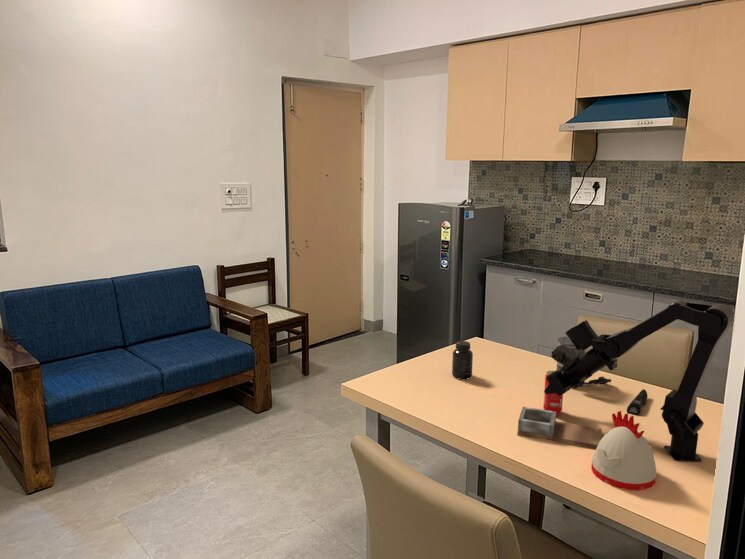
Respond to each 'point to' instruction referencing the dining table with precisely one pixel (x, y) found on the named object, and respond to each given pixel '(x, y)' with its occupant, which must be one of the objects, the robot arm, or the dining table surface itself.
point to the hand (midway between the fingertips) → (549, 389)
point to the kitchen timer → (624, 457)
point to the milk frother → (570, 345)
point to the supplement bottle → (462, 360)
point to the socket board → (556, 429)
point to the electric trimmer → (637, 403)
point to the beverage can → (552, 399)
